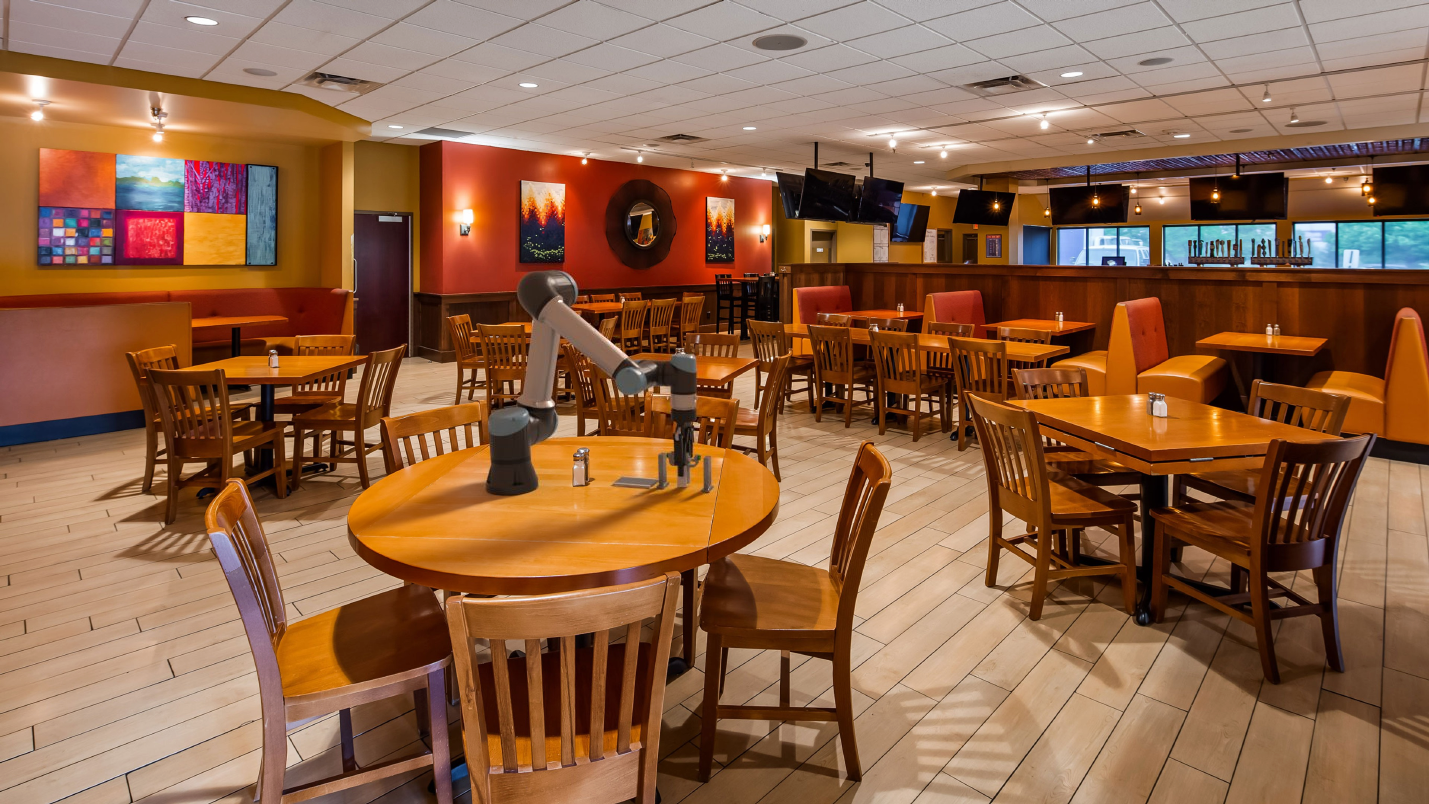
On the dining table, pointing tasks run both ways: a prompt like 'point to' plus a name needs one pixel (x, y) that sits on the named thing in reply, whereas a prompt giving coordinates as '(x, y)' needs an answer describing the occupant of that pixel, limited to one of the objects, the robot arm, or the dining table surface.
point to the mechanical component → (695, 459)
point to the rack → (663, 473)
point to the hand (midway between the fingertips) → (683, 484)
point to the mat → (636, 482)
